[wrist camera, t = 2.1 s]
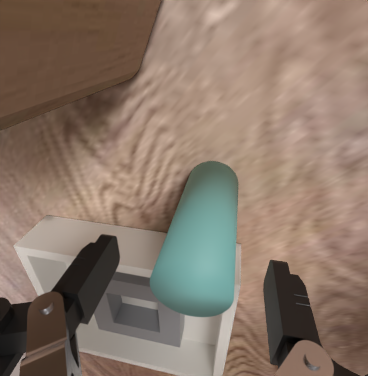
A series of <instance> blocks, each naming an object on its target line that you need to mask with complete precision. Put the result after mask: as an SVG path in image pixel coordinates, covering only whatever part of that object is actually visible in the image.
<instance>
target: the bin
mask: <svg viewBox="0 0 368 376" xmlns="http://www.w3.org/2000/svg"><path fill="white" fill-rule="evenodd" d="M101 234H106V235H113V236H116V237H117V241H118V247H119V253H120V261H119V265H118V267H117V269H116V271H115V273H114V275H113V277H112V279H111V281H110V283H109V285H108V287H107V289H106V291H105V293H104V294H103V296H102V298H101V300H100V302H99V304H98V306H97V308H96V310H95V312H94V314H93V316H92V318H91V320H90V321H89V323H88V325H87V324H82V323H80V324H79V326H78V328H77V329H76V333H77V341H78V348H79V351H80V352H85V353H89V354H93V355H97V356H101V357H105V358H109V359H113V360H117V361H121V362H125V363H129V364H133V365H137V366H141V367H146V368H150V369H154V370H158V371H162V372H166V373H170V374H174V375H178V376H222V375H223V371H224V366H225V361H226V356H227V351H228V346H229V341H230V336H231V331H232V326H233V321H234V316H235V311H236V306H237V301H238V296H239V291H240V286H241V244H238V243H236V258H235V285H234V300H233V303H232V305H231V307H230V308H229V309H228V310H227V311H225V312H223V313H222V314H219V315H216V316H212V317H193V316H188V315H184V314H181V313H178V312H176V311H174V310H171V309H170V308H168V307H166V306H165V305H164V304H162V303H161V302H160V301H159V300H158V299H157V298H156V297H155V295H154V294H153V292H152V290H151V288H150V277H151V274H152V271H153V269H154V266H155V264H156V261H157V258H158V256H159V253H160V251H161V248H162V246H163V243H164V240H165V238H166V235H167V233H164V232H157V231H150V230H144V229H137V228H130V227H123V226H117V225H110V224H103V223H96V222H90V221H83V220H76V219H69V218H63V217H56V216H49V215H46V216H45V217H44V218H43V219H42V220H41V221H40V222H39V223H38V224H37V225H35V226H34V227H33V228H32V229H31V230H30V231H29V232H28V233H27V234H26V235H25V236H24V237H22V238H21V239H20V240H19V241H18V242H17V243H16V244H15V245H14V248H15V250H16V252H17V254H18V256H19V258H20V260H21V262H22V264H23V266H24V268H25V270H26V272H27V274H28V276H29V278H30V280H31V282H32V284H33V286H34V288H35V290H36V292H37V294H38V296H40V295H42V294H44V293H47V292H50V291H51V290H52V289H53V288H54V286H55V285H56V284H57V282H58V281H59V279H60V278H61V277H62V275H63V274H64V273H65V271H66V270H67V268H68V267H69V266H70V265H71V263H72V262H73V260H74V259H75V258H76V256H77V255H78V253H79V252H80V251H81V249H82V248H84V247H85V246H86V245H88V244H89V243H90V242H92V243H95V242H96V241H97V239H98V238H99V236H100V235H101Z"/></svg>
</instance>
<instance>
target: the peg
mask: <svg viewBox="0 0 368 376" xmlns="http://www.w3.org/2000/svg"><path fill="white" fill-rule="evenodd" d="M237 206H238V179H237V176H236V174H235V172H234V171H233V170H232V169H231V168H230V167H229V166H227V165H225V164H223V163H220V162H216V161H208V162H204V163H201V164H199V165H197V166H196V167H195V168H194V169H193V170H192V171H191V173H190V175H189V178H188V181H187V183H186V186H185V188H184V191H183V194H182V196H181V199H180V201H179V204H178V207H177V209H176V212H175V214H174V217H173V220H172V222H171V225H170V227H169V230H168V233H167V235H166V238H165V240H164V243H163V246H162V248H161V251H160V253H159V256H158V258H157V261H156V264H155V266H154V269H153V271H152V274H151V277H150V288H151V290H152V292H153V294H154V295H155V297H156V298H157V299H158V300H159V301H160V302H161V303H162V304H164V305H165V306H166V307H168V308H170V309H171V310H174V311H176V312H178V313H181V314H184V315H188V316H193V317H212V316H216V315H219V314H222V313H223V312H225V311H227V310H228V309H229V308H230V307H231V305H232V303H233V300H234V285H235V258H236V232H237Z"/></svg>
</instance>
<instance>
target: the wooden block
mask: <svg viewBox="0 0 368 376" xmlns="http://www.w3.org/2000/svg"><path fill="white" fill-rule="evenodd" d="M160 2H161V0H0V130H3V129H5V128H8V127H10V126H13V125H15V124H18V123H20V122H23V121H25V120H28V119H30V118H33V117H36V116H38V115H41V114H43V113H46V112H48V111H51V110H53V109H56V108H58V107H61V106H63V105H66V104H68V103H71V102H73V101H76V100H78V99H81V98H83V97H86V96H89V95H91V94H94V93H96V92H99V91H101V90H104V89H106V88H109V87H111V86H114V85H116V84H119V83H121V82H124V81H126V80H129V79H131V78H132V77H133V76H134V75H135V74H136V73H137V71H138V70H139V68H140V65H141V61H142V58H143V55H144V52H145V49H146V46H147V43H148V40H149V36H150V33H151V30H152V27H153V24H154V21H155V18H156V15H157V12H158V8H159V5H160Z"/></svg>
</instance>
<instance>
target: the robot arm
mask: <svg viewBox="0 0 368 376" xmlns="http://www.w3.org/2000/svg"><path fill="white" fill-rule="evenodd" d="M119 261H120V253H119V247H118V241H117V237H116V236H113V235H106V234H101V235H100V236H99V238H98V239H97V241H96V242H95V243H92V242H90V243H89V244H88V245H86V246H85V247H84V248H82V249H81V251H80V252H79V253H78V255H77V256H76V258H75V259H74V260H73V262H72V263H71V265H70V266H69V267H68V268H67V270H66V271H65V273H64V274H63V275H62V277H61V278H60V279H59V281H58V282H57V284H56V285H55V286H54V288H53V289H52V290H51V291H50V292H47V293H44V294H42V295H40V296H39V297H37V298H36V299H35V300H34V301H33V302H27V303H20V304H12V305H11V304H10V302H9V301H8V300H7V299H6V298H0V376H10V374H11V373H12V371H13V370H14V368H15V366H16V365H17V363H18V362H19V360H20V358H21V357H22V355H23V353H25V352H26V357H25V358H24V359H22V361H21V364H20V376H82V371H81V364H80V356H79V348H78V341H77V333H76V329H77V328H78V326H79V324H80V323H82V324H87V325H88V323H89V321H90V320H91V318H92V316H93V314H94V312H95V310H96V308H97V306H98V304H99V302H100V300H101V298H102V296H103V294H104V293H105V291H106V289H107V287H108V285H109V283H110V281H111V279H112V277H113V275H114V273H115V271H116V269H117V267H118V265H119ZM264 302H265V312H266V323H267V333H268V343H269V354H270V364H273V365H278V371H277V372H276V374H275V375H274V376H359V375H357V374H355V373H353V372H352V371H350V370H348V369H346V368H344V367H342V366H340V365H339V364H337V363H336V362H335V361H333V360H332V359H331V358H330V356H329V355H328V353H327V352H326V351H325V350H324V349H323V347H322V345H321V343H320V340H319V336H318V332H317V329H316V325H315V321H314V317H313V313H312V310H311V307H310V302H309V298H308V294H307V291H306V287H305V285H304V283H303V282H302V280H301V279H300V277H299V276H298V275H293V274H290V271H289V267H288V263H287V262H282V261H276V260H270V262H269V266H268V269H267V273H266V276H265V279H264ZM365 376H368V374H367V375H365Z"/></svg>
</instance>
